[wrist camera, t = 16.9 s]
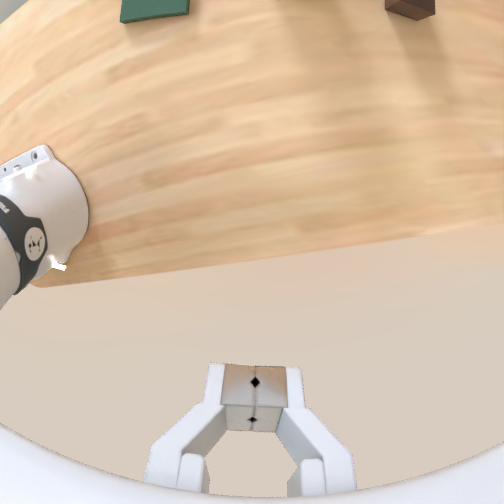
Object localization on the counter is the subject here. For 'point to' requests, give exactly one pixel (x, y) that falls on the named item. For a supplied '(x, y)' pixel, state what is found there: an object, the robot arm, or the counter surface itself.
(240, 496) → the robot arm
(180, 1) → the flat green block
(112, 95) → the counter surface
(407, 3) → the walnut block
